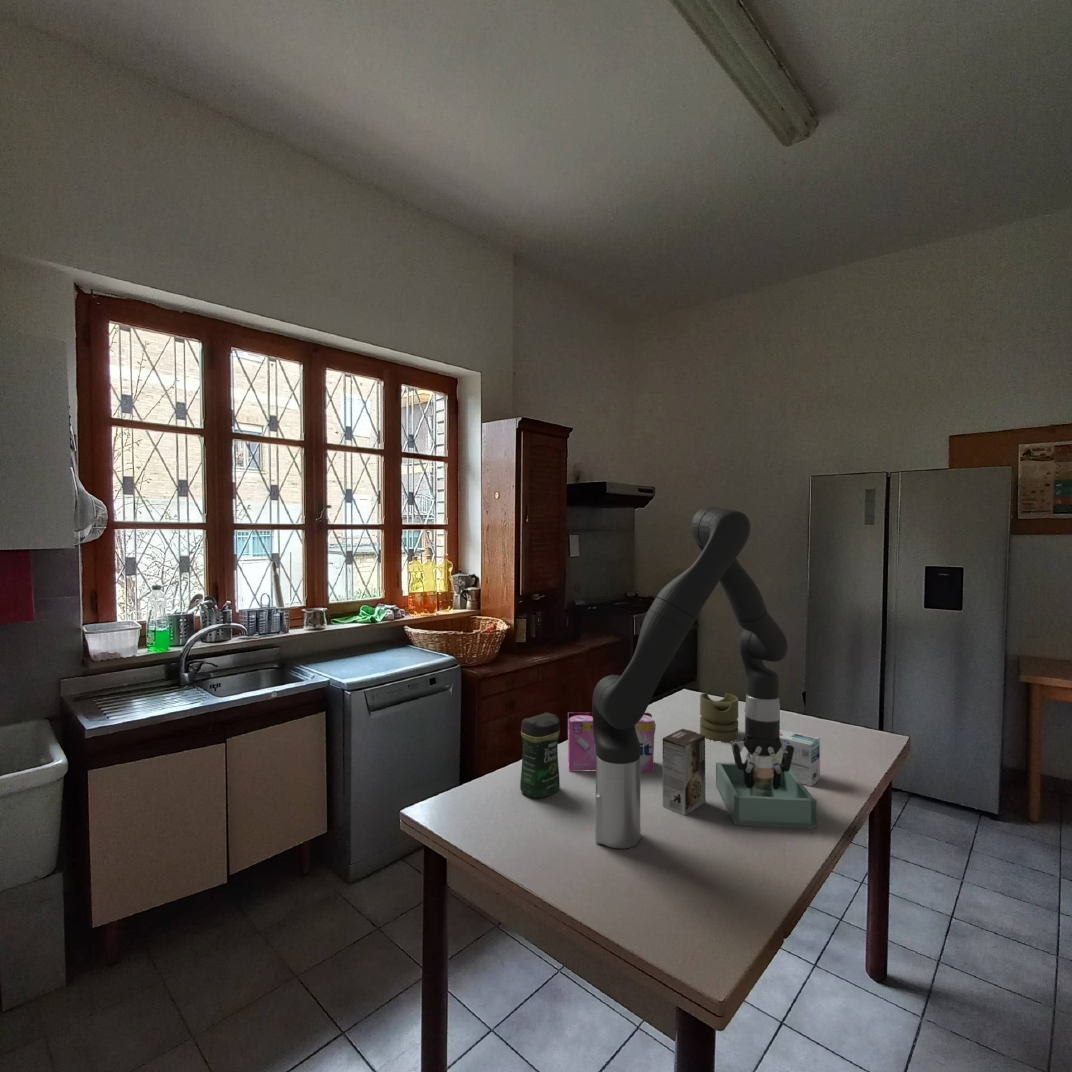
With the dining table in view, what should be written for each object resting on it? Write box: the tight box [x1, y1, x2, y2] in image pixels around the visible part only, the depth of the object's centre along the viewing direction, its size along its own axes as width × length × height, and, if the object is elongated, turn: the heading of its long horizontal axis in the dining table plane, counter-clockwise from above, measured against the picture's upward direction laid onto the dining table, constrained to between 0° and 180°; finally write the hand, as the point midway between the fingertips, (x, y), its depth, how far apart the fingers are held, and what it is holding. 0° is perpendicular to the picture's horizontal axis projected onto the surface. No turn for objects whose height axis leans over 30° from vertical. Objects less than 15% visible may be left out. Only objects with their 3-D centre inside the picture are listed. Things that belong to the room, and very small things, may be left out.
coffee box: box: [662, 728, 707, 816], centre depth 136 cm, size 9×6×16 cm
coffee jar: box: [519, 712, 561, 799], centre depth 143 cm, size 10×8×19 cm
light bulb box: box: [776, 728, 821, 787], centre depth 151 cm, size 11×7×11 cm, turn 47°
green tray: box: [715, 761, 817, 829], centre depth 135 cm, size 17×19×6 cm
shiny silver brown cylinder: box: [750, 754, 774, 797], centre depth 135 cm, size 5×5×10 cm
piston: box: [699, 692, 739, 743], centre depth 181 cm, size 11×12×11 cm
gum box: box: [567, 711, 657, 773], centre depth 158 cm, size 24×8×14 cm, turn 89°
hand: (761, 787), depth 135 cm, fingers closed on shiny silver brown cylinder, 5 cm apart
